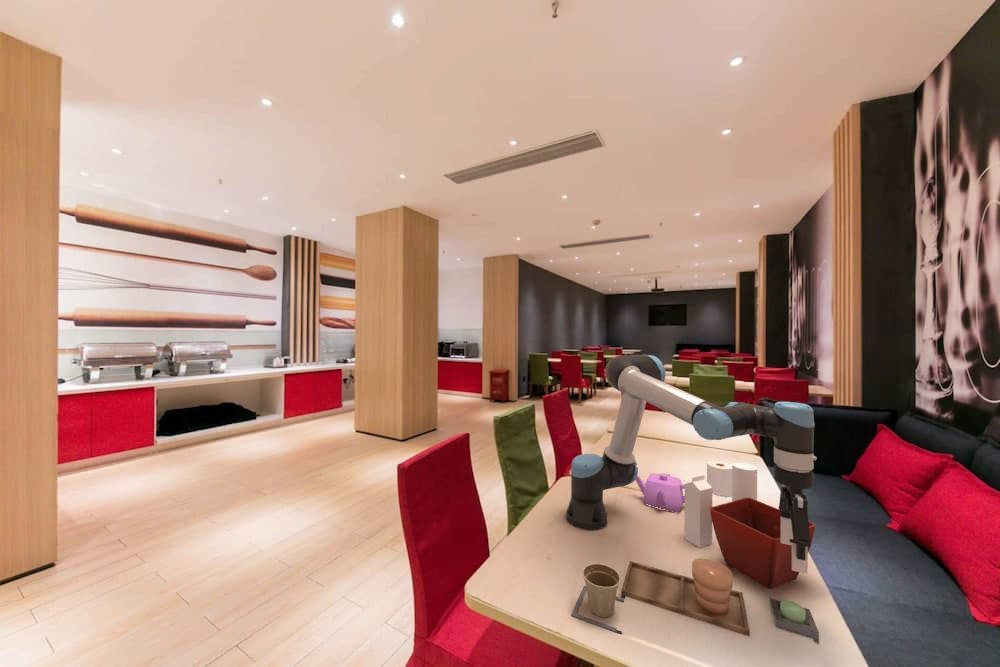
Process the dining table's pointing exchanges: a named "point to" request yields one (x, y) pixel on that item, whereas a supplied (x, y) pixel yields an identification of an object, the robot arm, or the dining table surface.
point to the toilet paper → (720, 478)
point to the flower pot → (601, 588)
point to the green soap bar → (792, 611)
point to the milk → (698, 512)
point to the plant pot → (754, 541)
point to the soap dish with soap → (792, 626)
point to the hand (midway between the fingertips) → (793, 556)
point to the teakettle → (662, 491)
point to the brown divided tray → (680, 596)
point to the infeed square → (574, 614)
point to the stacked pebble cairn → (712, 585)
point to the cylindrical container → (744, 481)
